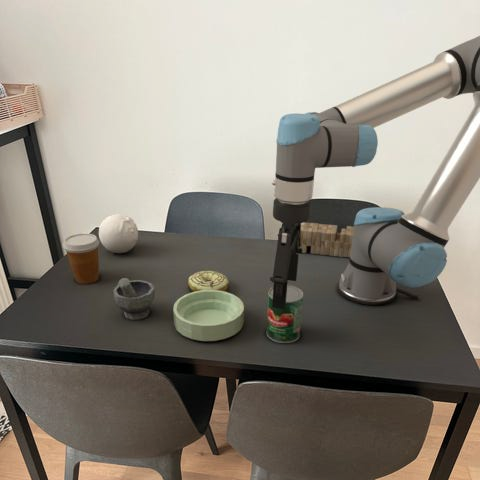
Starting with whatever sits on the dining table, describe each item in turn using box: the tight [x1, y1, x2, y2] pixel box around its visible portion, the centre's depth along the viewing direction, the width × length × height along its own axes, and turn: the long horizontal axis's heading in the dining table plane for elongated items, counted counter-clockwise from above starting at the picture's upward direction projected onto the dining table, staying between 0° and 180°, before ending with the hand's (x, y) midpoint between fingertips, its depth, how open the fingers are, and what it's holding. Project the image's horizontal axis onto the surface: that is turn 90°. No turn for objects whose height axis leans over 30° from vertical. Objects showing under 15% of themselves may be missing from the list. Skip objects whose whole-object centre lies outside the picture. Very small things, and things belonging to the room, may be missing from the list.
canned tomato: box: [265, 284, 304, 344], centre depth 107 cm, size 8×8×11 cm
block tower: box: [300, 222, 354, 259], centre depth 148 cm, size 8×8×29 cm
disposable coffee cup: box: [62, 232, 100, 285], centre depth 129 cm, size 10×10×12 cm
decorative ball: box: [98, 213, 139, 254], centre depth 146 cm, size 12×12×12 cm
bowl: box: [172, 290, 245, 342], centre depth 111 cm, size 17×17×5 cm
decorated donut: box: [188, 270, 230, 292], centre depth 127 cm, size 10×11×4 cm
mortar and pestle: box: [112, 277, 156, 321], centre depth 113 cm, size 11×9×12 cm
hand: (284, 293), depth 104 cm, fingers open, 13 cm apart
